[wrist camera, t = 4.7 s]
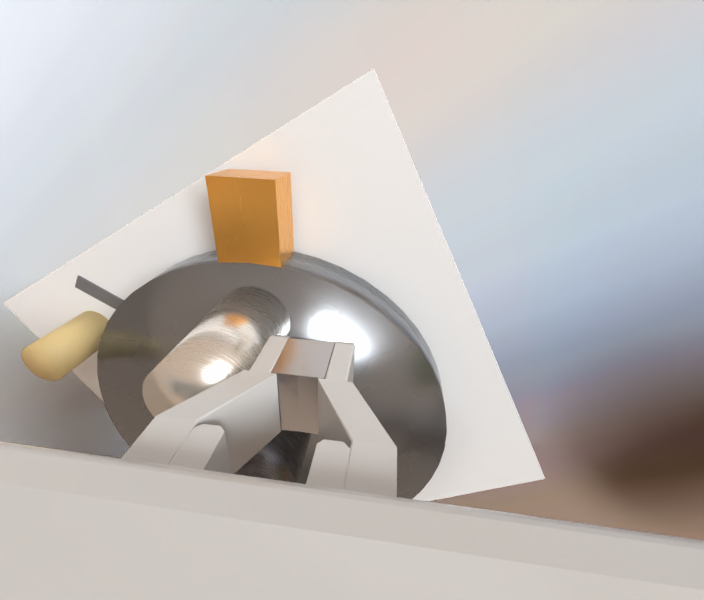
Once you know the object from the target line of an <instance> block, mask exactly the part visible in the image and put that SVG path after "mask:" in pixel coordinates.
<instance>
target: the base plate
mask: <svg viewBox="0 0 704 600" xmlns="http://www.w3.org/2000/svg"><path fill="white" fill-rule="evenodd" d="M226 169H244V170H262V171H280V172H291V193H292V215H293V238H294V251H295V252H298V253H302V254H306V255H310V256H313V257H317V258H320V259H322V260H325V261H327V262H330V263H332V264H335V265H337V266H340V267H342V268H344V269H346V270H348V271H349V272H351V273H353V274H355V275H357V276H358V277H360V278H362V279H364V280H366V281H367V282H368V283H370V284H371V285H373V286H374V287H375V288H377V289H378V290H380V291H381V292H382V293H384V294H385V295H386V296H387V297H388V298H390V299H391V300H392V301H393V302H394V303H395V304H396V305H397V306H398V307H399V308H400V309H401V310H402V311H403V312H404V313H405V314H406V315H407V316H408V318H409V319H410V320H411V321H412V322H413V324H414V325H415V326H416V327H417V329H418V330H419V331H420V333H421V335H422V336H423V338H424V340H425V341H426V343H427V345H428V346H429V348H430V350H431V353H432V355H433V358H434V360H435V362H436V365H437V368H438V372H439V376H440V380H441V385H442V391H443V398H444V404H445V411H446V425H447V434H446V441H445V449H444V452H443V455H442V458H441V461H440V464H439V466H438V468H437V469H436V471H435V473H434V475H433V477H432V478H431V480H430V481H429V482H428V483H427V485H426V486H425V487H424V488H423V490H422V491H421V492H420V493H418V494H417V495H416V496H415V497H414V498H413V499H414V500H421V501H432V500H437V499H442V498H448V497H453V496H458V495H463V494H468V493H474V492H479V491H484V490H489V489H494V488H500V487H505V486H510V485H515V484H520V483H526V482H531V481H536V480H541V479H545V477H544V475H543V472H542V470H541V467H540V465H539V462H538V460H537V457H536V455H535V452H534V450H533V447H532V445H531V442H530V440H529V438H528V435H527V433H526V430H525V428H524V426H523V423H522V421H521V418H520V416H519V414H518V411H517V409H516V407H515V404H514V402H513V399H512V397H511V395H510V392H509V390H508V387H507V385H506V383H505V380H504V378H503V375H502V373H501V371H500V368H499V366H498V363H497V361H496V359H495V356H494V354H493V351H492V349H491V347H490V344H489V342H488V340H487V337H486V335H485V332H484V330H483V328H482V325H481V323H480V320H479V318H478V316H477V313H476V311H475V308H474V306H473V304H472V301H471V299H470V296H469V294H468V292H467V289H466V287H465V284H464V282H463V280H462V277H461V275H460V273H459V270H458V268H457V265H456V263H455V261H454V258H453V256H452V253H451V251H450V249H449V246H448V244H447V241H446V239H445V237H444V234H443V232H442V229H441V227H440V225H439V222H438V220H437V218H436V215H435V213H434V210H433V208H432V206H431V203H430V201H429V198H428V196H427V194H426V191H425V189H424V186H423V184H422V182H421V179H420V177H419V174H418V172H417V170H416V167H415V165H414V162H413V160H412V158H411V155H410V153H409V151H408V148H407V146H406V143H405V141H404V139H403V136H402V134H401V131H400V129H399V127H398V124H397V122H396V119H395V117H394V115H393V112H392V110H391V107H390V105H389V103H388V100H387V98H386V95H385V93H384V91H383V88H382V86H381V84H380V81H379V79H378V76H377V75H376V73H375V71H374V69H372V70H370V71H368V72H367V73H365V74H364V75H362V76H360V77H359V78H357V79H356V80H354V81H353V82H351V83H349V84H348V85H346V86H345V87H343V88H342V89H340V90H338V91H337V92H335V93H334V94H332V95H330V96H329V97H327V98H326V99H324V100H323V101H321V102H319V103H318V104H316V105H315V106H313V107H312V108H310V109H308V110H307V111H305V112H304V113H302V114H300V115H299V116H297V117H296V118H294V119H293V120H291V121H289V122H288V123H286V124H285V125H283V126H282V127H280V128H278V129H277V130H275V131H274V132H272V133H270V134H269V135H267V136H266V137H264V138H263V139H261V140H259V141H258V142H256V143H255V144H253V145H252V146H250V147H248V148H247V149H245V150H244V151H242V152H240V153H239V154H237V155H236V156H234V157H233V158H231V159H229V160H228V161H226V162H225V163H223V164H222V165H220V166H218V167H217V168H215V169H214V170H212V171H210V172H209V173H207V174H206V175H208V174H212V173H215V172H219V171H222V170H226ZM213 250H216V245H215V238H214V232H213V225H212V219H211V212H210V206H209V199H208V192H207V186H206V179H205V175H204V176H203V177H201V178H199V179H198V180H196V181H195V182H193V183H192V184H190V185H188V186H187V187H185V188H184V189H182V190H180V191H179V192H177V193H176V194H174V195H173V196H171V197H169V198H168V199H166V200H165V201H163V202H162V203H160V204H158V205H157V206H155V207H154V208H152V209H150V210H149V211H147V212H146V213H144V214H143V215H141V216H139V217H138V218H136V219H135V220H133V221H132V222H130V223H128V224H127V225H125V226H124V227H122V228H120V229H119V230H117V231H116V232H114V233H113V234H111V235H109V236H108V237H106V238H105V239H103V240H102V241H100V242H98V243H97V244H95V245H94V246H92V247H90V248H89V249H87V250H86V251H84V252H83V253H81V254H79V255H78V256H76V257H75V258H73V259H72V260H70V261H68V262H67V263H65V264H64V265H62V266H60V267H59V268H57V269H56V270H54V271H53V272H51V273H49V274H48V275H46V276H45V277H43V278H42V279H40V280H38V281H37V282H35V283H34V284H32V285H30V286H29V287H27V288H26V289H24V290H23V291H21V292H19V293H18V294H16V295H15V296H13V297H12V298H10V299H8V300H7V301H5V302H4V303H3V304H4V305H5V306H6V307H7V308H8V309H9V310H10V311H11V312H12V313H13V314H15V315H16V316H17V317H18V318H19V319H20V320H21V321H22V322H23V323H24V324H25V325H26V326H27V327H28V328H29V329H30V330H31V331H32V332H33V333H34V334H35V335H36V336H37V337H38V338H39V339H38V340H37V341H35V342H33V343H32V344H30V345H29V346H27V347H25V348H24V349H23V350H22V353H21V356H22V360H23V362H24V364H25V365H26V366H27V368H28V369H29V370H30V371H31V372H33V373H34V374H35V375H37V376H39V377H41V378H43V379H46V380H50V381H56V380H59V379H61V378H62V377H64V376H65V375H66V374H68V373H69V372H70V371H72V372H73V373H74V374H75V375H76V376H77V377H78V378H79V379H80V380H81V381H82V382H83V383H84V384H85V385H86V386H87V387H88V388H90V389H91V390H92V391H93V392H94V393H95V394H96V395H97V396H98V397H99V398H100V399H101V400H102V401H103V398H102V395H101V392H100V388H99V381H98V375H97V354H98V349H99V344H100V339H101V336H102V334H103V332H104V329H105V327H106V324H107V322H108V320H109V319H110V318H111V316H112V315H113V313H114V312H115V310H116V309H117V307H118V306H119V305H120V304H121V303H122V302H123V301H124V300H125V299H126V298H127V297H128V296H129V295H130V294H131V293H132V292H134V291H135V290H137V289H138V288H140V287H141V286H143V285H144V284H146V283H147V282H149V281H150V280H152V279H153V278H155V277H157V276H158V275H160V274H161V273H163V272H164V271H166V270H167V269H169V268H170V267H172V266H174V265H175V264H177V263H179V262H182V261H184V260H186V259H188V258H191V257H193V256H195V255H199V254H203V253H206V252H210V251H213ZM103 402H104V401H103Z"/></svg>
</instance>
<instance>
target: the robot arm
mask: <svg viewBox="0 0 704 600" xmlns="http://www.w3.org/2000/svg"><path fill="white" fill-rule="evenodd" d="M354 359H355V344H354V343H352V342H338V341H337V342H333V341H324V340H316V339H308V338H300V337H292V336H291V337H290V336H283V335H271V336H270V337H269V339H268V340H267V342H266V344H265V345H264V347H263V349H262V350H261V352H260V354H259V355H258V357H257V359H256V360H255V362H254V364H253V365H252V367H251V369H250V370H243V371H241V372H239V373H237V374H235V375H233V376H231V377H229V378H228V379H226V380H224V381H222V382H220V383H218V384H216V385H214V386H212V387H210V388H208V389H207V390H205V391H203V392H201V393H199V394H197V395H195V396H193V397H191V398H189V399H187V400H185V401H184V402H182V403H180V404H178V405H176V406H174V407H172V408H170V409H168V410H166V411H164V412H162V413H161V414H159V415H157V416H156V417H155V418H154V419H153V420H152V421H151V423H150V424H149V425H148V426H147V427H146V429H145V430H144V431H143V432H142V433H141V435H140V436H139V437H138V438H137V440H136V441H135V442H134V443H133V444H132V446H131V447H130V448H129V449H128V450H127V452H126V453H125V454H124V455H123V457H122V458H117V457H110V456H103V455H95V454H88V453H81V452H74V451H67V450H60V449H53V448H46V447H39V446H32V445H25V444H18V443H10V442H3V441H0V600H704V540H698V539H691V538H683V537H676V536H669V535H662V534H655V533H648V532H641V531H634V530H627V529H620V528H613V527H606V526H598V525H591V524H584V523H577V522H570V521H563V520H556V519H549V518H542V517H535V516H528V515H521V514H513V513H506V512H499V511H492V510H485V509H478V508H471V507H464V506H456V505H449V504H442V503H435V502H428V501H421V500H414V499H407V498H400V497H397V447H396V445H395V444H394V442H393V441H392V439H391V438H390V436H389V435H388V434H387V432H386V431H385V429H384V428H383V426H382V425H381V423H380V422H379V420H378V419H377V417H376V416H375V414H374V413H373V412H372V410H371V409H370V407H369V406H368V404H367V403H366V401H365V400H364V398H363V397H362V395H361V394H360V392H359V391H358V390H357V388H356V387H355V385H354V384H353V376H354ZM281 430H288V431H299V432H305V433H312V434H318V436H319V439H320V441H321V442H319V443H317V445H316V449H315V453H314V456H313V460H312V464H311V467H310V471H309V475H308V478H307V482H306V484H301V483H294V482H287V481H280V480H273V479H266V478H259V477H252V476H245V475H237V474H234V473H236V472H237V471H238V470H239V469H240V468H241V467H242V466H243V465H244V464H245V463H247V462H248V461H249V460H250V459H251V458H252V457H253V456H254V455H255V454H257V453H258V452H259V451H260V450H261V449H262V448H263V447H264V446H265V445H267V444H268V443H269V442H270V441H271V440H272V439H273V438H274V437H275V436H276V435H278V434H279V433H280V432H281Z"/></svg>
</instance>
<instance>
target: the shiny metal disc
mask: <svg viewBox="0 0 704 600" xmlns="http://www.w3.org/2000/svg"><path fill="white" fill-rule="evenodd" d="M205 179H206V186H207V192H208V199H209V206H210V212H211V219H212V225H213V232H214V238H215V245H216V250H213V251H210V252H206V253H203V254H199V255H195V256H193V257H191V258H188V259H186V260H184V261H182V262H179V263H177V264H175V265H174V266H172V267H170V268H169V269H167V270H166V271H164V272H163V273H161V274H160V275H158V276H157V277H155V278H153V279H152V280H150V281H149V282H147V283H146V284H144V285H143V286H141V287H140V288H138V289H137V290H135V291H134V292H132V293H131V294H130V295H129V296H128V297H127V298H126V299H125V300H124V301H123V302H122V303H121V304H120V305H119V306H118V307H117V309H116V310H115V312H114V313H113V315H112V316H111V318H110V319H109V320H108V322H107V324H106V327H105V329H104V332H103V334H102V336H101V339H100V344H99V349H98V354H97V375H98V381H99V388H100V392H101V395H102V398H103V401H104V404H105V407H106V409H107V411H108V413H109V415H110V417H111V420H112V422H113V423H114V425H115V426H116V428H117V430H118V431H119V433H120V434H121V436H122V437H123V439H124V440H125V441H126V442H127V444H128V445H129V446H130V447H131V446H132V444H133V443H134V442H135V441H136V440H137V438H138V437H139V436H140V435H141V433H142V432H143V431H144V430H145V429H146V427H147V426H148V425H149V424H150V423H151V421H152V420H153V419H154V418H155V417H156V416H157V415H159V414H161V413H162V412H164V411H166V410H168V409H170V408H172V407H174V406H176V405H178V404H180V403H182V402H184V401H185V400H187V399H189V398H191V397H193V396H195V395H197V394H199V393H201V392H203V391H205V390H207V389H208V388H210V387H212V386H214V385H216V384H218V383H220V382H222V381H224V380H226V379H228V378H229V377H231V376H233V375H235V374H237V373H239V372H241V371H243V370H250V369H251V367H252V365H253V364H254V362H255V360H256V359H257V357H258V355H259V354H260V352H261V350H262V349H263V347H264V345H265V344H266V342H267V340H268V339H269V337H270V336H271V335H283V336H290V337H291V336H292V337H300V338H308V339H316V340H324V341H333V342H337V341H338V342H352V343H354V344H355V359H354V376H353V384H354V385H355V387H356V388H357V390H358V391H359V392H360V394H361V395H362V397H363V398H364V400H365V401H366V403H367V404H368V406H369V407H370V409H371V410H372V412H373V413H374V414H375V416H376V417H377V419H378V420H379V422H380V423H381V425H382V426H383V428H384V429H385V431H386V432H387V434H388V435H389V436H390V438H391V439H392V441H393V442H394V444H395V445H396V447H397V497H400V498H407V499H413V498H414V497H415V496H416V495H417V494H418V493H420V492H421V491H422V490H423V488H424V487H425V486H426V485H427V483H428V482H429V481H430V480H431V478H432V477H433V475H434V473H435V471H436V469H437V468H438V466H439V464H440V461H441V458H442V455H443V452H444V449H445V441H446V434H447V425H446V411H445V404H444V398H443V391H442V385H441V380H440V376H439V372H438V368H437V365H436V362H435V360H434V358H433V355H432V353H431V350H430V348H429V346H428V345H427V343H426V341H425V340H424V338H423V336H422V335H421V333H420V331H419V330H418V329H417V327H416V326H415V325H414V324H413V322H412V321H411V320H410V319H409V318H408V316H407V315H406V314H405V313H404V312H403V311H402V310H401V309H400V308H399V307H398V306H397V305H396V304H395V303H394V302H393V301H392V300H391V299H390V298H388V297H387V296H386V295H385V294H384V293H382V292H381V291H380V290H378V289H377V288H375V287H374V286H373V285H371V284H370V283H368V282H367V281H366V280H364V279H362V278H360V277H358V276H357V275H355V274H353V273H351V272H349V271H348V270H346V269H344V268H342V267H340V266H337V265H335V264H332V263H330V262H327V261H325V260H322V259H320V258H317V257H313V256H310V255H306V254H302V253H298V252H295V251H294V238H293V215H292V193H291V172H280V171H262V170H244V169H226V170H222V171H219V172H215V173H212V174H208V175H205ZM319 442H321V441H320V439H319V436H318V434H312V433H305V432H299V431H288V430H281V432H280V433H279V434H278V435H276V436H275V437H274V438H273V439H272V440H271V441H270V442H269V443H268V444H267V445H265V446H264V447H263V448H262V449H261V450H260V451H259V452H258V453H257V454H255V455H254V456H253V457H252V458H251V459H250V460H249V461H248V462H247V463H245V464H244V465H243V466H242V467H241V468H240V469H239V470H238V471H237V472H236V473H234V474H237V475H245V476H252V477H259V478H266V479H273V480H280V481H287V482H294V483H301V484H306V482H307V478H308V475H309V471H310V467H311V464H312V460H313V456H314V453H315V449H316V445H317V443H319Z"/></svg>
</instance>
